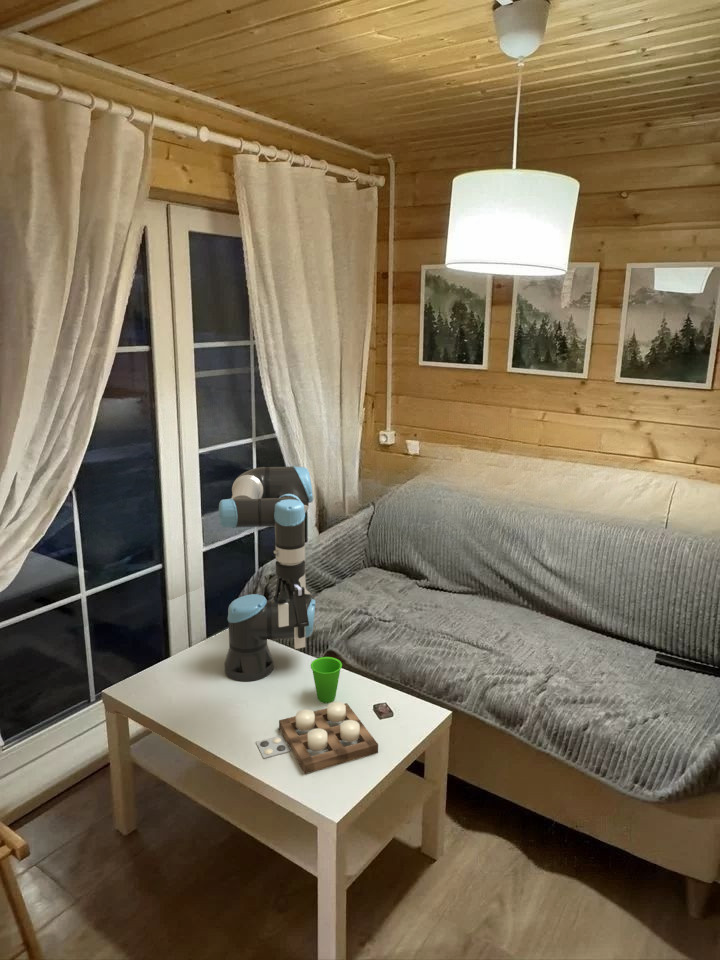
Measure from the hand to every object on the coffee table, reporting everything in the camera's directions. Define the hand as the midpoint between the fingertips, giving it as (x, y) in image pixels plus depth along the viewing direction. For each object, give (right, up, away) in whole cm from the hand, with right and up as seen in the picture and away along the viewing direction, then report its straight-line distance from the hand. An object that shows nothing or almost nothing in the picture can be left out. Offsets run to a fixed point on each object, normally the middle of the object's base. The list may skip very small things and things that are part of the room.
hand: (291, 636), depth 180 cm
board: (+9, -27, 0) cm, 29 cm away
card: (-4, -28, -3) cm, 29 cm away
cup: (+8, -22, +18) cm, 30 cm away
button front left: (+15, -25, -3) cm, 30 cm away
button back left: (+12, -23, +5) cm, 26 cm away
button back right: (+4, -24, +1) cm, 24 cm away
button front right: (+7, -26, -7) cm, 28 cm away
